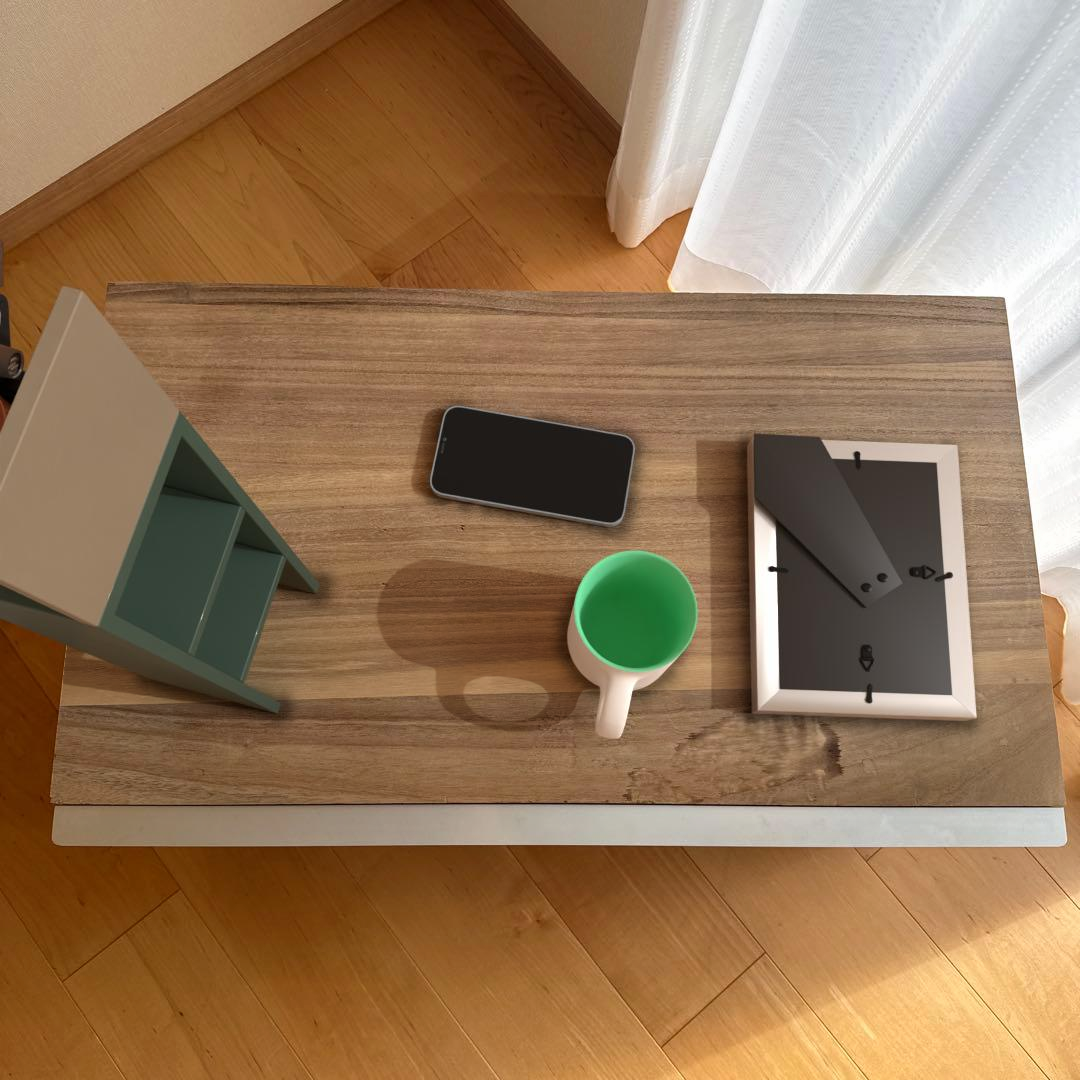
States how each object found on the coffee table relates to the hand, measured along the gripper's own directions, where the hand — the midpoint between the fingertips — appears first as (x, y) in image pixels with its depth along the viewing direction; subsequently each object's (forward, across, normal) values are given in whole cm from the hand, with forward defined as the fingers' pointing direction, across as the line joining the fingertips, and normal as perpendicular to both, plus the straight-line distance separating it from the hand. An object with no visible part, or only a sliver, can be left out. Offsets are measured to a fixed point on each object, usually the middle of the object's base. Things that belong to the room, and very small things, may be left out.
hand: (0, 475), depth 46 cm
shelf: (+36, 0, +1) cm, 36 cm away
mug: (+36, -5, +29) cm, 46 cm away
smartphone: (+36, -18, +19) cm, 44 cm away
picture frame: (+36, -16, +44) cm, 59 cm away
